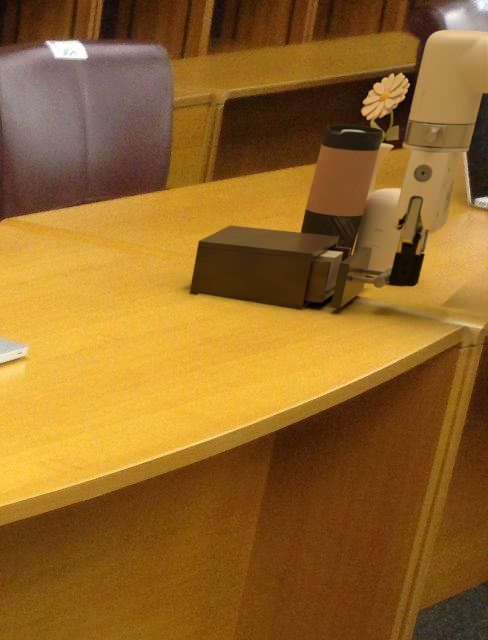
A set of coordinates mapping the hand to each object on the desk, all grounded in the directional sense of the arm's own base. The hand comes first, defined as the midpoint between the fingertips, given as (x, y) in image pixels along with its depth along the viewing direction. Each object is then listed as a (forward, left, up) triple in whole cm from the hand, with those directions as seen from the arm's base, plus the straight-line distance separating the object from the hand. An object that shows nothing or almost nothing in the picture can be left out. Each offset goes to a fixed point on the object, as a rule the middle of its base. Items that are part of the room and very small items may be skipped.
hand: (402, 283), depth 200 cm
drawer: (+10, 0, -3) cm, 11 cm away
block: (+11, 0, -2) cm, 11 cm away
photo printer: (+6, -22, -4) cm, 23 cm away
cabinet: (+17, 0, -4) cm, 18 cm away
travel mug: (+14, -21, -4) cm, 26 cm away
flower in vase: (+17, -59, -4) cm, 62 cm away
